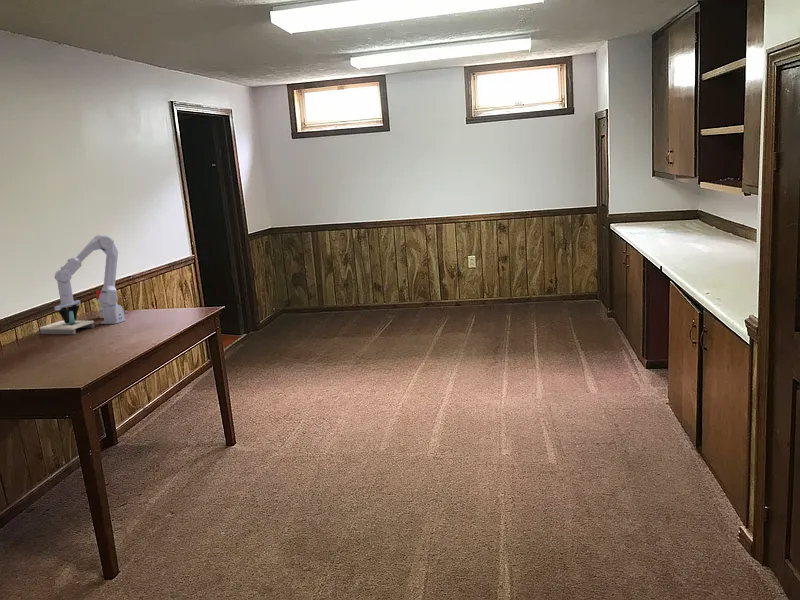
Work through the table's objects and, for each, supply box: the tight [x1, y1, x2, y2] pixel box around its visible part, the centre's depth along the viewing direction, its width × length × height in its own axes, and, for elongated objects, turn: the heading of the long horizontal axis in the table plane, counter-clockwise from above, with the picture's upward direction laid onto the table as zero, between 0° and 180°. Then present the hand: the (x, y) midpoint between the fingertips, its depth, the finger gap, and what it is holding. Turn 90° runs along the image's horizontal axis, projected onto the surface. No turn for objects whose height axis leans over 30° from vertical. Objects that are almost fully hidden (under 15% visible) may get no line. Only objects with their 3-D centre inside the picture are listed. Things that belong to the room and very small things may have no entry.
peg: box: [66, 311, 78, 331], centre depth 334 cm, size 4×4×9 cm
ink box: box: [95, 290, 104, 319], centre depth 362 cm, size 8×5×15 cm, turn 84°
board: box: [39, 320, 95, 335], centre depth 336 cm, size 20×14×4 cm
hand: (70, 321), depth 334 cm, fingers closed on peg, 4 cm apart
